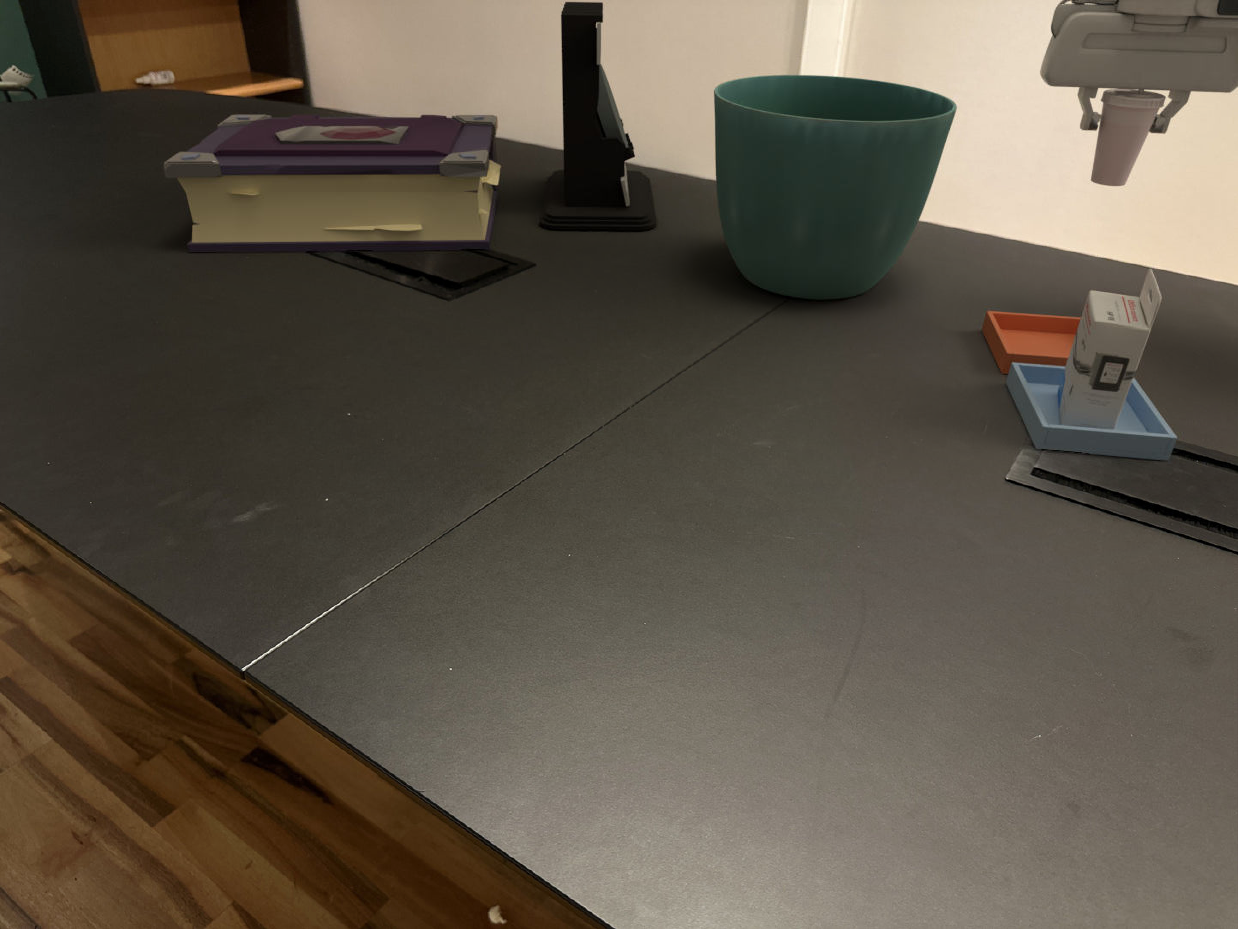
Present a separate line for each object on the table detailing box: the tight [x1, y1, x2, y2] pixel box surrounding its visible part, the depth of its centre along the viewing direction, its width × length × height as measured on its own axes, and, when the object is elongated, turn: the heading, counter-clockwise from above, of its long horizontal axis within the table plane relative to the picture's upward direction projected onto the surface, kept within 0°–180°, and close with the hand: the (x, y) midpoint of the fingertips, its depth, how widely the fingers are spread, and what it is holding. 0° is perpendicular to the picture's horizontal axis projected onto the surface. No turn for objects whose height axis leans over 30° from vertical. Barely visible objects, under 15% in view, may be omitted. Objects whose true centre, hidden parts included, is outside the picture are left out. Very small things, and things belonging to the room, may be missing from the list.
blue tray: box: [1005, 362, 1178, 462], centre depth 92 cm, size 12×14×3 cm
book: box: [163, 114, 502, 253], centre depth 142 cm, size 33×45×14 cm
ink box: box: [1058, 268, 1163, 430], centre depth 89 cm, size 9×5×15 cm, turn 160°
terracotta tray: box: [981, 310, 1081, 375], centre depth 105 cm, size 12×12×3 cm
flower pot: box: [713, 74, 958, 301], centre depth 120 cm, size 30×30×24 cm
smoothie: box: [1090, 88, 1167, 187], centre depth 101 cm, size 6×6×14 cm
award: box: [539, 1, 658, 231], centre depth 146 cm, size 30×19×30 cm, turn 1°
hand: (1122, 131), depth 102 cm, fingers closed on smoothie, 6 cm apart
